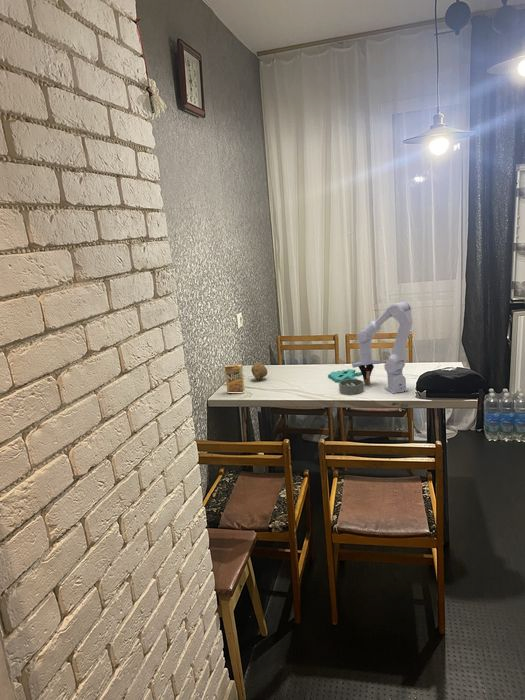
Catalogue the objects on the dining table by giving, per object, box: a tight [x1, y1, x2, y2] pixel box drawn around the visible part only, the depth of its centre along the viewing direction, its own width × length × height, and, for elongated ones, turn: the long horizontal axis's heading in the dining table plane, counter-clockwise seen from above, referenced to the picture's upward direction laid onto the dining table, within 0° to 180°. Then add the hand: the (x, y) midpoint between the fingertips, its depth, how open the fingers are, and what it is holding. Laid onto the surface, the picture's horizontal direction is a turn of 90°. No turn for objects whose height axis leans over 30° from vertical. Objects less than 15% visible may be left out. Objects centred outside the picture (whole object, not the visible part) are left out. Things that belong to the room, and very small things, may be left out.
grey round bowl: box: [338, 378, 365, 396], centre depth 251 cm, size 12×12×4 cm
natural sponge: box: [251, 362, 268, 380], centre depth 284 cm, size 9×9×10 cm
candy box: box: [224, 363, 245, 393], centre depth 264 cm, size 9×4×15 cm, turn 81°
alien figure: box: [327, 368, 362, 384], centre depth 275 cm, size 20×2×20 cm
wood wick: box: [362, 370, 371, 385], centre depth 258 cm, size 4×2×7 cm, turn 13°
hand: (366, 378), depth 258 cm, fingers closed on wood wick, 1 cm apart
